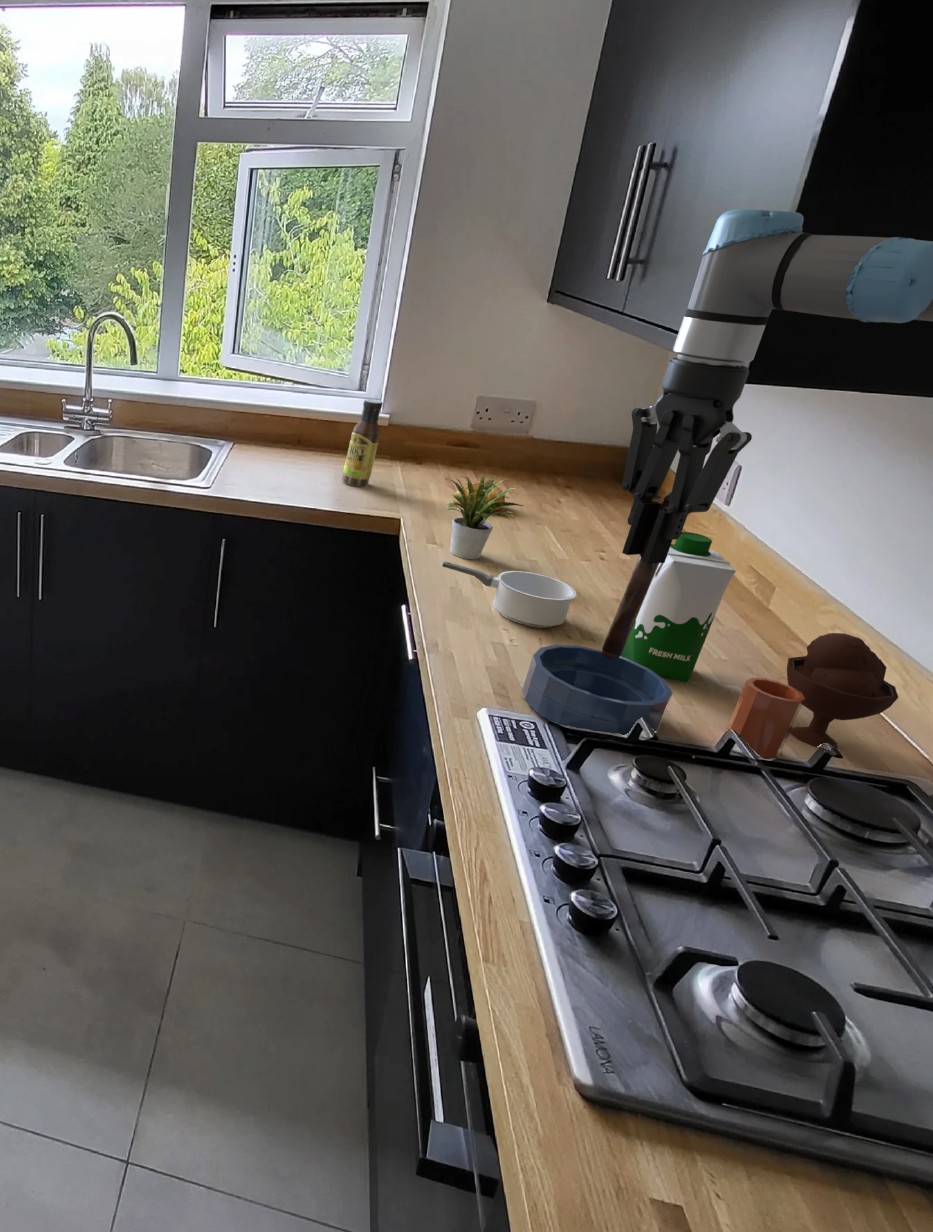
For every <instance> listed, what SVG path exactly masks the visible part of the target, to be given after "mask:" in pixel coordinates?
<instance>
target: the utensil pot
mask: <svg viewBox="0 0 933 1232" xmlns="http://www.w3.org/2000/svg"><path fill="white" fill-rule="evenodd" d="M804 701H805V697H804V695H803V694H802V693H801V692H800V691H798V690H796V689H795V688H793V687H791V686H789V685H788V684H787V683H784V682H781V681H779V680H774V679H771V678H766V677H750V678H748V679H746V681H745V683H744V685H743V688H742V690H741V692H740V695H739V698H738V700H737V703H736V705H735V707H734V709H733V711H732V714H731V717H730V719H729V721H728V724H727V726H726V728H725V730H724V733H725V732H726V731H728V729H733V730H735V731H736V732H737V733H738V734H739V735H741V737H743V739H744V740H745V741H746V742H747V743H748V744H749V746H750V747H751V748H752V749H753V750H754V751H755V752H756V753H757V754H758V755H760V756H761V757H762V758H764V759H770V758H778V759H779V757H780V756H781V753H782V751H783V748H784V746H785V745H786V742H787V740H788V738H789V735H790V734H789V733H790V731H791V729H792V728H793V727H794V725H795V723H796V720H797V718H798V716H799V714H800V712H801V709H802V707H803V706H804V705H803V703H804Z"/></svg>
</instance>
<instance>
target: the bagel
mask: <svg viewBox="0 0 933 1232" xmlns="http://www.w3.org/2000/svg"><path fill="white" fill-rule="evenodd" d="M471 483H472V485H473V488H474V498H475V499H476V494H477V490H478V487H479V484H480V481H477V482H471ZM485 483H486V482H485V481H484V485H485ZM461 488H462V487H461ZM463 488H464V490H465V492H466V496H467V501H468V506H469V489H468V486H467V485H465V486H463ZM463 488H462V489H463ZM464 490H463V491H464ZM503 491H504V490H502V489H501V488H500V487H499V486H498V485H497V486H496V487H495V488H494V489H493V490H492V491H491V492H490V493H489V494H488V496H487V497H486V499H485V501H486V500H490V499H492V498H494V497H495V496H496V495H498V494H500V493H501V492H503ZM465 492H464V493H465ZM456 494H457V495H460V496H462V495H461V493H460V492H459V490H458V489H457V491H456V492H455V493H454V494H453V495H456ZM501 497H504V498H501ZM501 497H499V499H496V500H495V502H492V503H491V504H493V503H496V502H506V498H505V497H506V495H503V496H501ZM475 499H474V504H475ZM451 500H452V503H453V504H456V505H459V506H462V505H461V503H460V502H459V501H458V500H457V499H456V498H454V497H453V496H452V498H451ZM484 503H486V502H484ZM491 504H490V505H491ZM501 508H502V507H498V508H496V509H495V510H494V511H496V510H500V509H501ZM494 511H493V512H494Z"/></svg>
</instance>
